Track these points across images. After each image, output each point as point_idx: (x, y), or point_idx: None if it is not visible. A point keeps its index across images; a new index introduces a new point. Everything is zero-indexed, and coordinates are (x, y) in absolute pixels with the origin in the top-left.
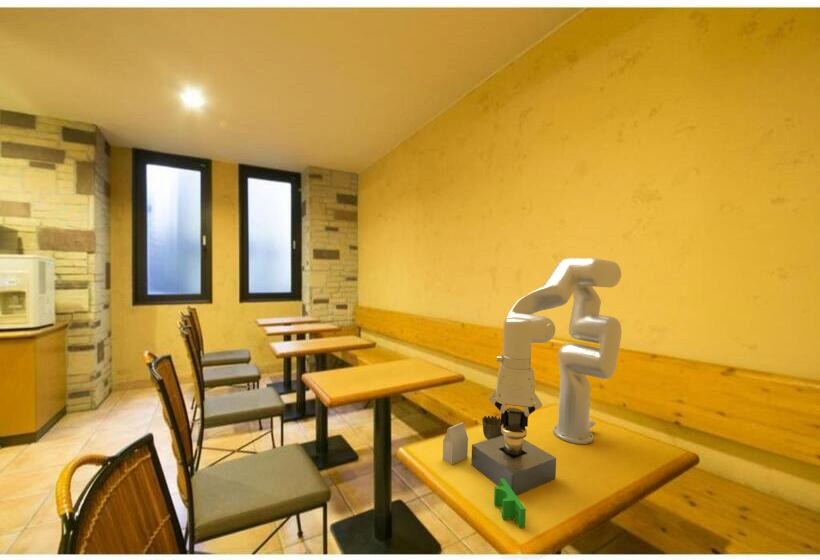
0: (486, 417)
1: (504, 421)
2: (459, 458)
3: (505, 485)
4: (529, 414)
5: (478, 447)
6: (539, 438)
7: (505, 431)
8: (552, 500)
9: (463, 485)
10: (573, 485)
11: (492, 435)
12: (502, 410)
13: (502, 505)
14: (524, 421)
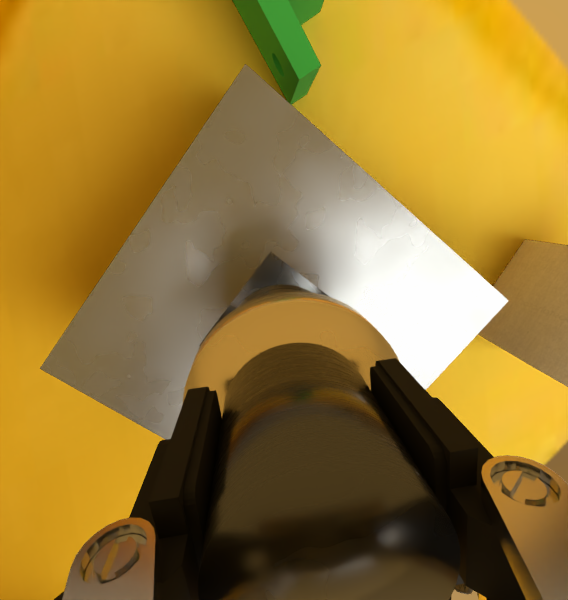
0: (457, 587)
1: (412, 389)
2: (504, 285)
3: (282, 1)
4: (84, 578)
5: (471, 285)
6: None
7: (364, 320)
8: (83, 160)
9: (463, 102)
10: (18, 314)
11: None
12: (534, 495)
13: None
14: (177, 447)
